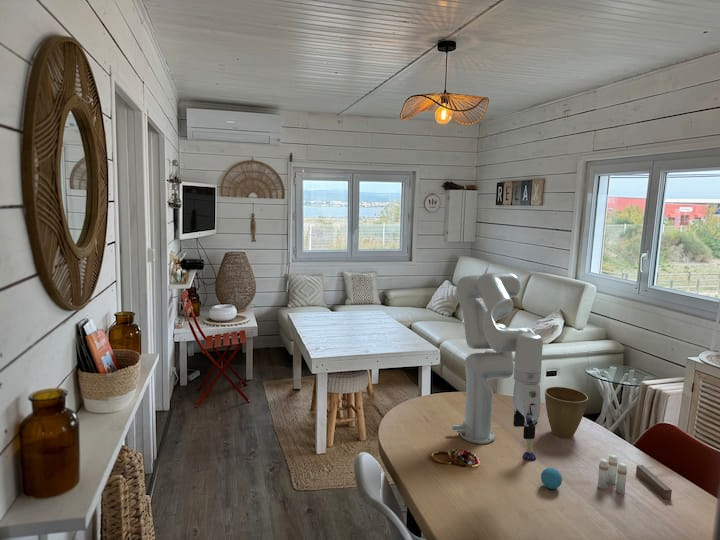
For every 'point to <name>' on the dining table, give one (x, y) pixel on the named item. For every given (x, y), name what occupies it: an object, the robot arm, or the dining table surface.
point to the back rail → (654, 482)
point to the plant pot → (564, 410)
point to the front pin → (603, 473)
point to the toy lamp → (529, 448)
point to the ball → (551, 478)
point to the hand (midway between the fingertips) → (523, 431)
